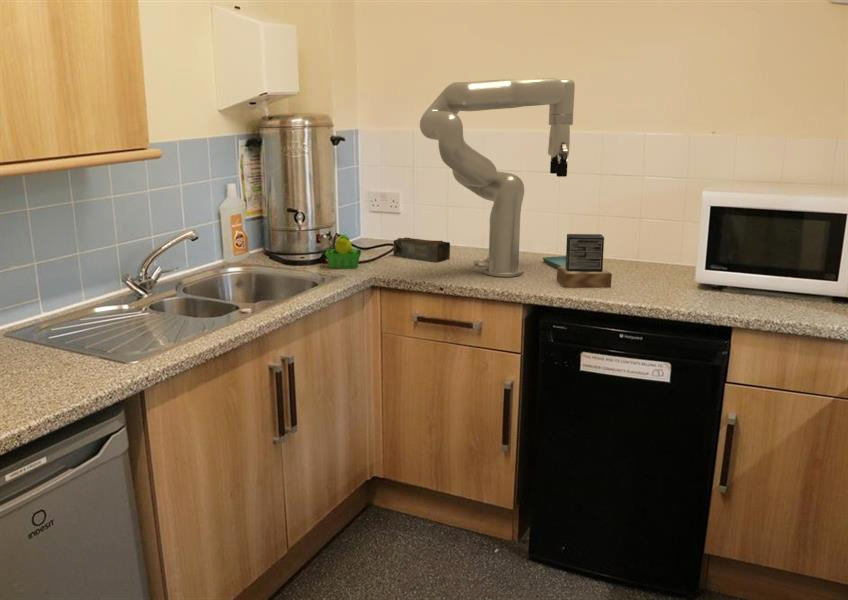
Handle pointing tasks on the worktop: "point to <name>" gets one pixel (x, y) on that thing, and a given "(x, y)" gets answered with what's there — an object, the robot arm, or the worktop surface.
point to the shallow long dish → (555, 261)
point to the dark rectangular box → (422, 249)
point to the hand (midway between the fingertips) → (558, 174)
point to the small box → (584, 252)
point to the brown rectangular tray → (583, 278)
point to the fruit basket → (343, 254)
